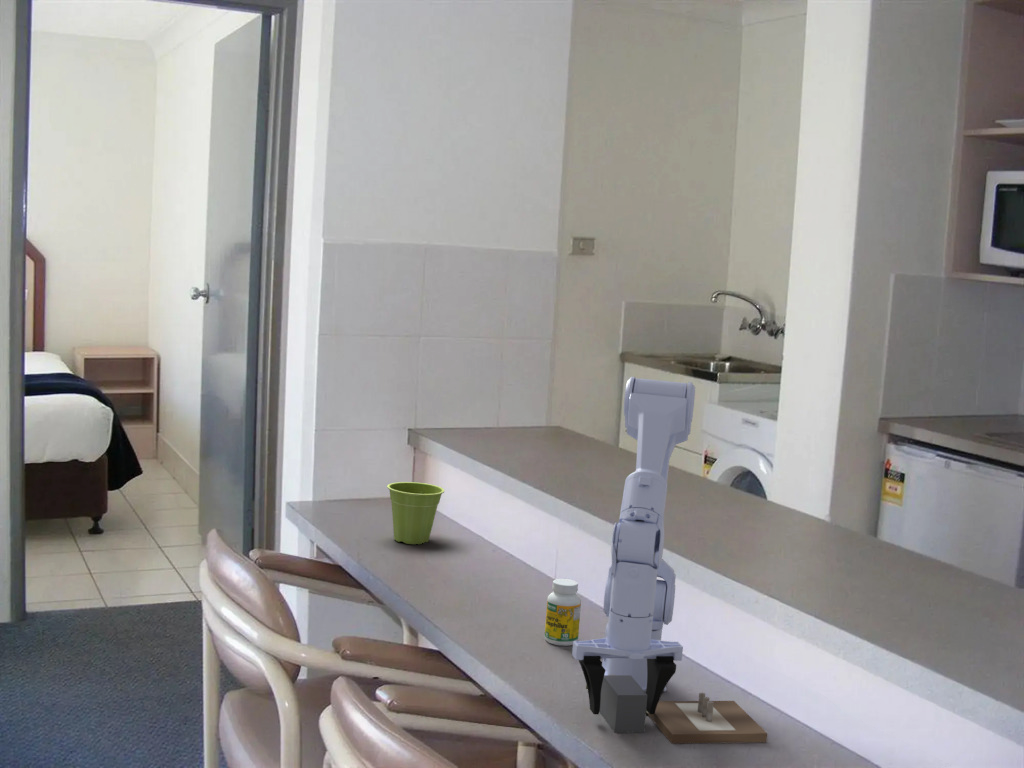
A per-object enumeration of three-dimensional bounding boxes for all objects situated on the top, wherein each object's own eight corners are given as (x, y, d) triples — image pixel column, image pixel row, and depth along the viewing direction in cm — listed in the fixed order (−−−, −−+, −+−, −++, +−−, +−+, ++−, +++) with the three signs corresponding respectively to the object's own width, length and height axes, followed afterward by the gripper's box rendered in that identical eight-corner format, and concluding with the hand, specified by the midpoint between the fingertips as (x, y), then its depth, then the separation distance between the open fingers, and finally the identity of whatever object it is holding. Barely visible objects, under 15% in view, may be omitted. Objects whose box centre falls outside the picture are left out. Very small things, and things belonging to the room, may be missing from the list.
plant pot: (404, 550, 232) (408, 495, 231) (372, 536, 242) (376, 483, 240) (451, 544, 240) (455, 491, 239) (419, 531, 249) (423, 480, 248)
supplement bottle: (583, 640, 185) (588, 582, 184) (568, 649, 180) (573, 589, 179) (553, 633, 188) (558, 575, 187) (537, 641, 183) (542, 582, 182)
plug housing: (595, 705, 158) (598, 670, 157) (623, 705, 159) (626, 670, 158) (614, 732, 149) (617, 695, 149) (644, 732, 150) (647, 695, 149)
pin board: (643, 709, 158) (646, 682, 157) (733, 709, 161) (735, 682, 160) (671, 743, 147) (674, 714, 147) (766, 742, 150) (769, 714, 150)
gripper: (586, 620, 146) (577, 723, 147) (694, 621, 149) (684, 723, 150) (571, 603, 153) (563, 702, 154) (675, 604, 156) (666, 702, 157)
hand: (622, 711), depth 153 cm, fingers open, 7 cm apart
